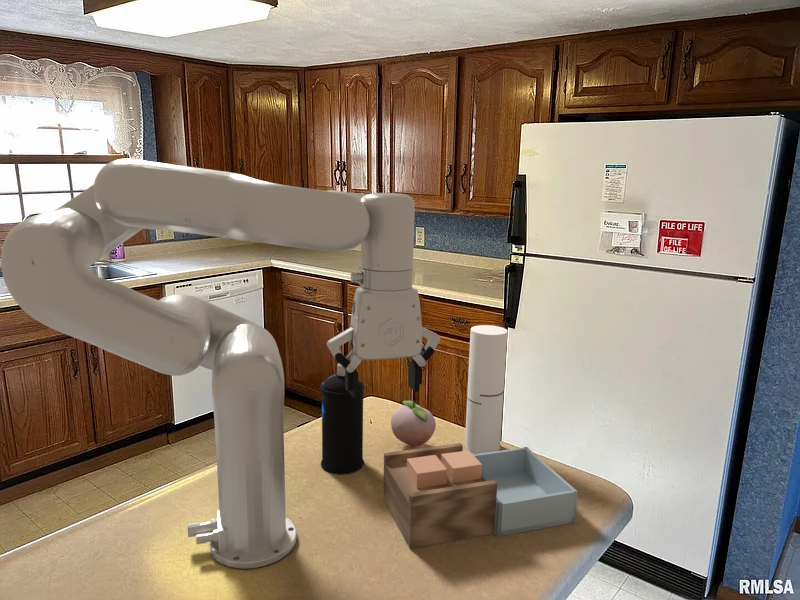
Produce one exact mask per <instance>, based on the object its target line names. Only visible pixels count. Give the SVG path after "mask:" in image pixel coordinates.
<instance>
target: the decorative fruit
mask: <svg viewBox="0 0 800 600" xmlns="http://www.w3.org/2000/svg"><path fill="white" fill-rule="evenodd" d="M402 404H403V405H401V406H400V407H398V408H397V409H396V410H394V412H393V413H392V416H391V419H390V426H391V427H390V428H391V430H392V433H393V435H394V437H395V438H396V439H397V440H399V441H400V442H401V443H404V444H406V445H407V446H410V447H412V448H416V447H419V446H423V445H424V444H425V443H427V442H428V441H429V440H430V439H431V438H432V437H433V435H434V433H435V430H436V427H437V425H436V420H435V417H434V416H433V413H431V411H429V410H428V409H426V408H423V407H421V406H420V405H419V404H417V403H416V402H415V400H413V401H412V400H403V401H402Z"/></svg>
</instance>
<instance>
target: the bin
mask: <svg viewBox="0 0 800 600" xmlns="http://www.w3.org/2000/svg"><path fill="white" fill-rule="evenodd" d="M473 455H474V456H475V457H476V459H477V460H478V461H479V462H480V463H481V464H482V472H481V475H482V477H483V478H484V479H485V480H486V481H491V480H495V481H496V482H497V498H496V513H495V529H494V533H493V534H495V536H496V537H497V538H498V537H503V536H504V537H505V536H508V535H515V534H520V533H525V532H530V531H537V530H540V529H545V528H550V527H551V528H552V527H556V526H562V525H567V524H573V523H575V522H576V513H577V505H578V504H577V501H578V493H579V491H578V490H577V489H576V488H575V487H574V486H572V485H571V483H569V482H567V480H565V479H564V478H563V477H562V476H561V475H559V474H558V472H556V471H555V470H554V469H553V468H552V467H550V466H549V465H548V464H547V463H546V462H545V461H543V460H542V459H541V458H540V457H539V456H538V455H537V454H535V452H533V451H532V450H531V449H530V448H529V447H528V446H524V447H518V448H509V449H504V450H500V451H495V452H488V453H481V454H473Z"/></svg>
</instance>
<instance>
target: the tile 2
mask: <svg viewBox="0 0 800 600" xmlns="http://www.w3.org/2000/svg"><path fill="white" fill-rule="evenodd" d="M441 462H442V464H443V465H444V466H445V467H446V469H447V477H448V478H449V479H450V481H451V482H452V483H456V482H462V481H469V480H475V479H481V472H482V464H481V463H480V462H479V461H478V460H477V459H476V457H475V456H474V455H473V454H472V453H471V452H470V451H469V450H468V451H467V450H463V451H460V452H453V453H446V454H441Z"/></svg>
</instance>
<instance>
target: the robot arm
mask: <svg viewBox="0 0 800 600" xmlns="http://www.w3.org/2000/svg"><path fill="white" fill-rule="evenodd" d="M415 205H416V204H415V201H414V199H413V198H412V197H411V196H410V195H408V194H404V193H396V192H395V193H394V192H393V193H391V192H372V193H369V194H362V193H353V192H346V191H342V190H341V191H340V190H336V189H335V190H334V189H330V190H322V189H321V190H320V189H315V188H308V187H307V188H306V187H301V186H293V185H292V186H291V185H285V184H280V183H275V182H269V181H264V180H260V179H256V178H254V177H251V176H248V175H245V174H242V173H236V172H231V171H224V170H223V171H222V170H216V169H207V168H202V167H200V168H199V167H193V166H187V165H186V166H185V165H178V164H171V163H165V162H159V161H158V162H157V161H151V160H150V161H149V160H144V159H138V158H118V159H114V160H112V161H110V162H108V163H107V164H105V165H104V166H102V168H101V169H100V170H99V172H98V173H97V174H96V176H95V179H94V181H93V184H92V185H90V186H89V187H88V188H87V189H85V190H83V191H82V192H80V194H78V195H76V196H75V197H73V198H72V199H70V200H69V201H66V203H64V204H62V205H61V206H59V207H57V208H56V209H55V210H53V211H48V212H47V211H46V212H44V213H39V214H37V215H33V216H30V217H28V218H25V219H24V220H22V221H20V222H19V223H17V224H16V225H15V226H13V228H12V229H11V230H10V231H9V233H8V234H7V235H6V237H5V239H4V241H3V243H2V247H1V252H0V253H1V254H0V266H1V267H0V268H1V273H2V277H3V281H4V283H5V285H6V288H7V289H8V292H9V293H10V295H11V297H12V298H13V300H14V301H15V302H16V304H17V305H18V306H19V308H20V309H21V310H23V311H24V312H25V313H27V315H29V317H31V318H33V319H34V320H36V321H37V322H38V323H40V324H42V325H43V326H46V327H48V328H50V329H52V330H55V331H56V332H59V333H62V334H64V335H67V336H70V337H72V338H73V339H74V338H75V339H77V340H80V341H82V342H85V343H88V344H90V345H92V346H95V347H97V348H100V349H102V350H104V351H106V352H109V353H111V354H114V355H116V356H119V357H121V358H123V359H126V360H129V361H131V362H133V363H136V364H139V365H140V366H143V367H146V368H148V369H150V370H153V371H154V372H155V371H156V372H158V373H160V374H162V375H163V374H164V375H167V376H173V377H174V376H185V375H187V374H190V373H193V371H195V370H197V369H198V368H199V367H200V366H201V367H202V368H205V369H207V370H211V395H212V398H211V399H212V407H213V417H214V418H213V420H214V436H215V438H214V439H215V451H216V466H217V467H216V469H217V473H216V474H217V490H218V491H217V492H218V508H219V509H217V510H216V516H217V517H211V518H210V520H208V521H198V522H197V521H196V522H192V523H187V537H188V538H189V539H190V538H196V539H195V540H196V545H200V544H201V545H202V544H206V543H209V549H210V553H211V555H212V557H213V558H214V560H215V561H216V562H219V563H220V564H221V565H225V566H226V567H230V568H234V569H254V568H255V569H256V568H260V567H261V568H262V567H264V566H265V567H266V566H269V565H271V564H273V563H276V562H277V561H279V560H281V559H283V558H284V557H285V556H286V555H288V554H289V553H290V552H291V551H292V550H293V548H294V547H295V545H296V543H297V538H298V537H297V529H296V525H295V524H294V523H293V521H292V520H291V519H289V518H288V517H287V516H286V513H287V512H286V483H285V482H286V480H285V479H286V477H285V474H286V473H285V469H286V468H285V437H284V436H285V433H284V432H285V431H284V429H285V428H284V427H285V426H284V424H285V423H284V414H285V413H284V409H285V407H284V406H285V372H284V367H283V363H282V362H283V361H282V358H281V355H280V352H279V347H278V344H277V342H276V340H275V338H274V337H273V335H272V334H271V333H270V332H269V331H268V330H267V329H265V328H264V327H263V326H261V325H259V324H257V323H256V322H254V321H251V320H249V319H247V318H244V317H243V316H240V315H237V314H235V313H234V312H231V311H228V310H226V309H225V308H222V307H220V306H217V305H215V304H213V303H211V302H208V301H206V300H204V299H202V298H199V297H195V296H192V295H188V294H181V293H180V294H171V295H167V296H164V297H161V298H160V299H159V300H158V299H157V298H153V297H150V296H149V295H146V294H144V293H141V292H139V291H137V290H134V289H133V288H130V287H129V286H126V285H124V284H121V283H120V282H119V283H118V282H115V281H113V280H112V281H111V280H110V279H109V280H108V279H105V278H103V277H99V276H98V275H96V274H94V273H93V272H92V271H90V270H89V269H88V268H91V266H93V265H94V264H95V263H97V262H99V261H100V260H101V259H102V258H103V257H105V256H106V255H108V254H109V253H111V252H112V251H114V250H115V249H116V248H117V247H119V246H121V245H122V244H123V243H125V242H126V241H128V240H129V239H130V238H133V236H136V234H138V233H139V232H140V231H141V230H143V229H144V230H154V231H155V230H156V231H164V232H174V233H185V234H194V235H195V234H196V235H201V236H210V237H219V238H227V239H231V240H237V241H244V242H257V243H263V244H269V245H275V246H280V247H281V246H283V247H289V248H297V249H308V250H315V251H317V250H318V251H326V252H327V251H328V252H347V251H350V250H353V249H355V248H356V247H358V246H360V266H359V269H358V271H356V272H351V273H350V282H351V283H356V284H359V286H360V287H357V288H356V289H355V292H354V297H353V302H352V306H351V307H352V308H351V315H350V316H351V317H350V326H349V328H347V329H345V330H344V331H342V332H340V333H339V334H337V335H336V336H334V337H331V338H330V339H329V340H327V342H326V346H327V348H328V349H329V351H330V353H331V355H332V356H333V358H334V360H335V361H336V362H337V364H340V365H342V366H343V367H344V368H345V388H346V390H347V391H349V393H350V394H351V396H352V397H353V398H357V397H358V379H359V372H358V370H357V367H359V365H360V364H361V362H362V361H380V360H381V361H382V360H384V361H385V360H395V359H407V358H411V360H409V362H408V374H407V375H408V376H407V377H408V379H407V380H408V381H407V385H408V386H409V388H410V389H411V390H412V391H413V392H414V393H419V392H420V385H422V384H423V367H425V365H426V364H427V362H428V360H429V359H430V358H431V357H432V356H433V355H434V353H435V349H436V348H437V346H439V345H438V344H439V343H440V341H441V340H442V339H441V336H440V335H439V334H437V333H435V332H433V331H432V330H429V329H427V328H425V327H424V326H422V313H421V312H422V311H421V303H420V294H419V290H418V289H417V288H415V287H413V274H414V273H413V270H414V269H413V267H414V266H413V265H414V244H415V243H414V240H415V239H414V237H415V211H416V210H415V207H416V206H415ZM423 338H425V339H426V340H427V342H426V344H425V345H423ZM348 342H349V347H350V348H349V349H350V351H349V353H348V354H347V355H345V354H344V353H342V351H341V349H340V348H341V346H342V345H344V344H346V343H348Z"/></svg>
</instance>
